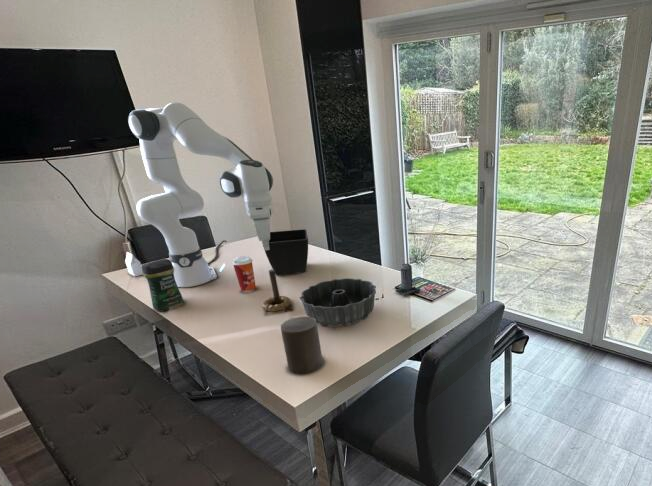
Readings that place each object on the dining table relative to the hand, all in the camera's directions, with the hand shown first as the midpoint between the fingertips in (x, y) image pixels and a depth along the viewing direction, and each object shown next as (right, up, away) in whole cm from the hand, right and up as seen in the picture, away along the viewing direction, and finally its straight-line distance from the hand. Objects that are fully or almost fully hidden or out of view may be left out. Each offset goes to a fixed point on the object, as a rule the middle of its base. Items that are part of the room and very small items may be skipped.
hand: (266, 245), depth 149 cm
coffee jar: (-42, -23, +9) cm, 48 cm away
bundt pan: (+28, -26, -1) cm, 38 cm away
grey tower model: (+50, -18, +18) cm, 56 cm away
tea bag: (-79, -9, +41) cm, 89 cm away
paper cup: (-17, -17, +22) cm, 32 cm away
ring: (+2, -21, +4) cm, 22 cm away
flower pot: (-8, -7, +43) cm, 45 cm away
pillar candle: (+24, -38, -29) cm, 54 cm away
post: (+2, -23, +6) cm, 24 cm away
